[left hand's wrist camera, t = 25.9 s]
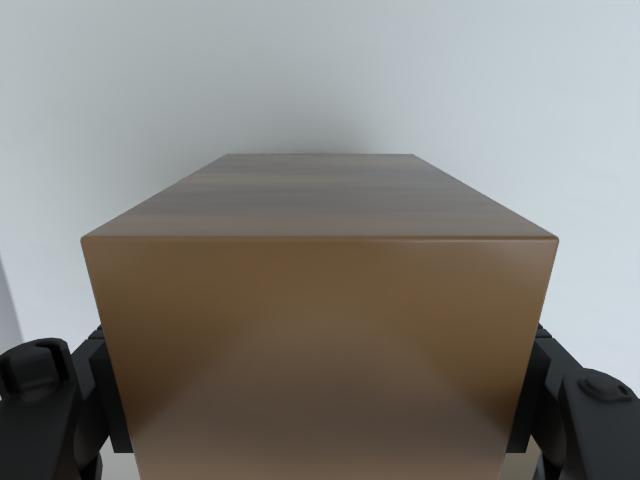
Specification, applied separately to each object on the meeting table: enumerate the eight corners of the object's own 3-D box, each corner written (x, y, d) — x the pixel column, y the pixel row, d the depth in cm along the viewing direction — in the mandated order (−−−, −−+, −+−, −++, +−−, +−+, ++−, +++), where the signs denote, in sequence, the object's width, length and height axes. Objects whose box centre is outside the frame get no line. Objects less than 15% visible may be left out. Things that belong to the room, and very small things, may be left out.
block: (398, 324, 19) (480, 558, 9) (241, 324, 19) (158, 558, 9) (413, 153, 16) (562, 237, 6) (225, 153, 16) (76, 237, 6)
